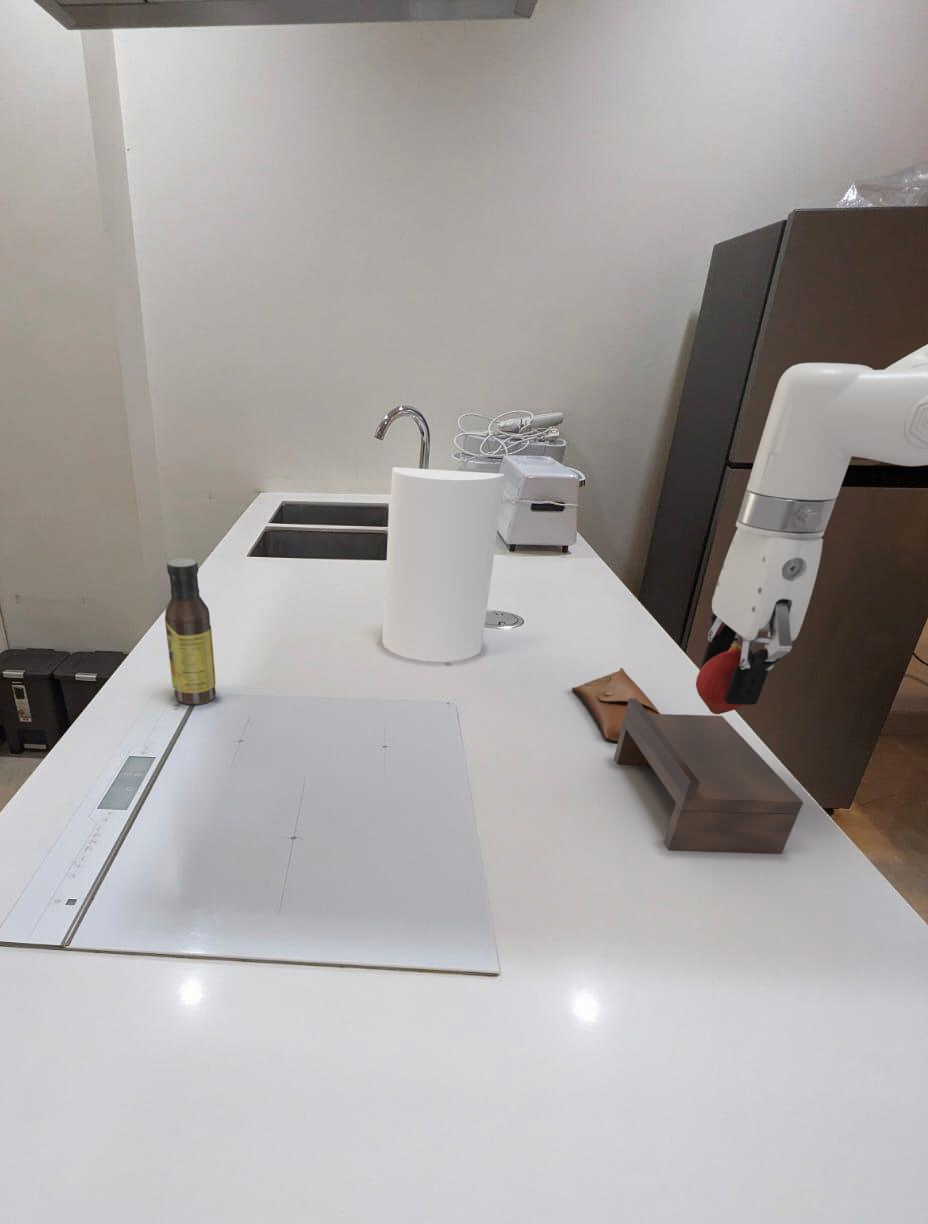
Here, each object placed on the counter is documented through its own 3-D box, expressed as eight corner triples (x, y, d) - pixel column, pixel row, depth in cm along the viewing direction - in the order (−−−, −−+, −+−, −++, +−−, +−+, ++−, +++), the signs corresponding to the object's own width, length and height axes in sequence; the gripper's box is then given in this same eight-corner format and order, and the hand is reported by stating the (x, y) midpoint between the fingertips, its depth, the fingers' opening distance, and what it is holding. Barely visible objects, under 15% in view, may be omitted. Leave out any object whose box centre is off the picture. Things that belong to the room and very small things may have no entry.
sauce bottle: (182, 687, 113) (169, 553, 103) (221, 690, 112) (213, 555, 102) (167, 704, 108) (151, 565, 97) (208, 708, 107) (198, 568, 96)
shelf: (707, 761, 96) (727, 700, 92) (781, 853, 79) (810, 785, 75) (613, 758, 97) (628, 698, 92) (668, 850, 80) (690, 781, 75)
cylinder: (475, 667, 122) (499, 483, 107) (372, 655, 126) (381, 475, 111) (486, 632, 136) (508, 465, 121) (393, 622, 140) (403, 459, 125)
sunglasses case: (567, 685, 115) (597, 650, 112) (601, 707, 117) (631, 673, 114) (606, 740, 99) (641, 701, 96) (644, 764, 102) (680, 727, 99)
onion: (748, 710, 83) (772, 640, 78) (742, 730, 79) (768, 658, 74) (692, 698, 85) (712, 630, 81) (684, 717, 81) (705, 646, 77)
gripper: (877, 536, 63) (801, 727, 73) (779, 497, 78) (727, 660, 88) (788, 534, 64) (724, 725, 73) (707, 495, 78) (662, 658, 88)
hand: (726, 688), depth 80 cm, fingers closed on onion, 5 cm apart
